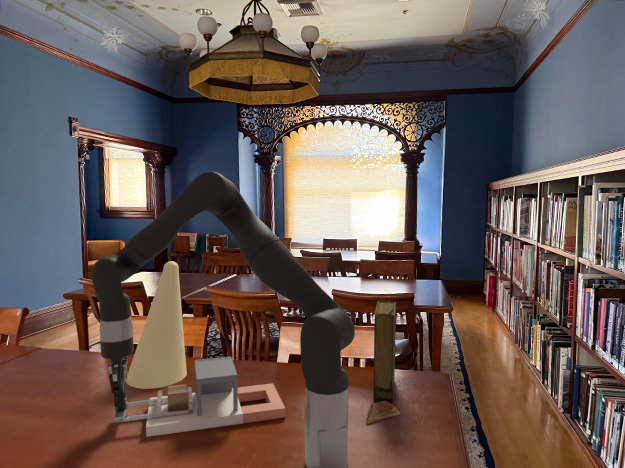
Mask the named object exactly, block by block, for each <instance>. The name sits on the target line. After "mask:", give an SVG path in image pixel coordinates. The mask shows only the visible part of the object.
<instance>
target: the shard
mask: <svg viewBox="0 0 625 468" xmlns="http://www.w3.org/2000/svg"><path fill="white" fill-rule="evenodd" d="M400 414H401V412H400V411H399V410H398V409H397V407H396V406H394V405H392V404H391V403H389V401H387V400H383V401H380V402H379V401H378V402H374V403H371V402H370V405H369V409H368V412H367V416H366V418H365V422H366V424H368V425H369V424H372V423H374V422H377V421H380V420H383V419H387V418H391V417H397V416H399V415H400Z"/></svg>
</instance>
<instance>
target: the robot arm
mask: <svg viewBox="0 0 625 468" xmlns="http://www.w3.org/2000/svg"><path fill="white" fill-rule="evenodd" d="M203 212H206V213H209V214H211V215H212V216H214V217H215V218H217V219H218V221H220V222H221V223H222V224H223V226H225V228H226V229H227V230H228V231H229V232H230V234H231V235H232V236H233V238H234V239H235V242H236V244H237V246H238V250H239V252H240V254H241V256H242V258H243V260H244V261H245V263H246V264H247V265H248V267H249V268H250V269H251V271H252V272H253V273H254V274H255V275H256V277H257V278H258V279H259V281H260V282H262V283H263V284H264V285H265V286H266V287H267V288H269V289H270V290H272V291H273V292H275V293H277V294H279V295H280V296H282V297H284V298H286V299H287V300H288V301H290V302H292V304H295V306H296V307H298V309H300V311H301V312H302V313H303V314H304V316H305V317H306V319H305V320H304V322H303V324H302V326H301V330H300V337H299V339H300V340H299V343H300V345H299V346H300V347H299V349H300V366H301V373H302V376H303V378H304V384H305V386H304V387H305V388H304V389H305V390H304V391H305V393H304V397H305V399H304V447H305V449H304V454H305V455H304V458H305V459H304V461H305V462H304V463H305V466H306V468H348V465H349V391H350V389H349V381H350V379H349V378H350V377H349V373H348V371H346V370H345V369H344V368H343V367H342V355H341V354H342V353H341V352H342V351H343V350H345V349H346V348H347V347H348V346H349V345H351V343H352V342H353V341H354V339H355V335H356V329H355V325H354V322H353V320H352V318H351V316H350V315H349V314H348V313H347V312H346V311H345V310H344V308H343V307H342V306H340V305H339V304H338V303H337V302H336V301H335V299H333V298H332V297H331V296H330V295H329V294H328V293H327V292H326V291H325V290H324V289H323V288H321V286H320V285H319V284H318V283H317V282H316V281H315V279H314V278H313V277H312V276H311V275H310V274H309V273H308V271H307V270H306V269H305V268H304V267H303V265H301V263H300V262H299V261H298V259H296V257H295V256H294V255H293V254H292V252H291V251H290V249H289V248H288V247H287V246H286V245H285V244H284V242H283V241H282V240H281V239H280V238H279V237H278V236H277V235H276V234H275V232H273V231H272V230H271V229H270V227H268V226H267V225H266V224H265V223H264V222H263V221H262V220H261V219H260V218H259V217H258V216H257V215H256V214H255V212H253V210H252V209H251V207H250V206H249V204H248V203H247V202H246V200H245V198H244V197H243V196H242V194H241V192H240V190H239V189H238V187H236V185H235V184H234V183H233V182H232V181H231V180H230V179H228V178H226V176H223V174H221V173H219V172H218V171H217V172H216V171H212V170H207V171H205V172H202V173H200V174H199V175H197V176H196V177H195V178H194V179H193V180H192V181H191V182H190V183H189V184H188V185H187V186H186V187H185V188H184V189H183V190H182V191H181V193H179V194H178V195H177V196H176V198H174V200H173V201H172V202H171V203H170V204H169V205H168V206H167V207H166V208H165V209H164V210H163V211H162V212H161V213H160V214H159V215H158V216H157V217H155V219H154V220H152V221H151V222H150V223H148V224H147V225H146V226H144V227H143V228H142V229H140V231H138V232H137V233H135V234H134V235H133V236H132V237H130V238H129V239H128V240H127V241H126V242H125V243H124V246H123V247H122V248H121V249H120V250H119V251H117V252H115V253H114V254H112V255H109V256H105V257H101V258H100V259H97V261H95V263H94V264H93V266H92V270H91V282H92V285H93V290H94V292H95V295H96V298H97V300H98V305H99V306H98V307H99V343H100V345H99V346H100V356H101V358H103V359H106V360H110V362H109V364H108V372H109V375H108V379H109V385H110V393H111V394H113V401H114V402H113V405H114V406H113V407H114V408H115V407H122V406H124V382H125V380H126V379H127V375H128V364H129V363H128V362H129V361H128V360H129V359H128V357H130V356H131V355H132V354H133V353H135V352H134V351H135V347H134V346H135V345H134V326H133V321H132V312H131V311H132V309H131V300H130V299H131V297H130V296H129V295H128V294H127V293H126V292H125V293H124V291H123V287H122V282H123V283H124V282H125V281H127V280H129V279H130V278H131V277H132V276H134V275H135V274H136V273H137V272H138V271H139V270H141V268H142V267H143V266H144V265H146V263H148V262H150V261H151V260H153V259H154V258H156V256H158V255H159V254H160V253H162V252H163V251H165V250H166V249H167V248H168V247H169V246H170V245H171V244H172V242H173V241H174V240H175V239H176V237H177V235H178V234H179V232H180V230H181V229H182V228H183V227H184V226H185V225H186V223H188V222H189V221H190V220H191V219H193V218H194V217H196V216H198V215H199V214H201V213H203ZM117 386H119V387H117ZM115 387H117V388H115Z"/></svg>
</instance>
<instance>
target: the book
mask: <svg viewBox="0 0 625 468" xmlns="http://www.w3.org/2000/svg"><path fill="white" fill-rule="evenodd" d="M396 306H397V302H396V301H394V300H393V301H392V300H378V301H377V303H376V307H375V310H374V320H373V321H374V323H373V325H374V328H373V331H374V332H373V334H374V335H373V339H374V340H373V393H372V394H373V396H372V397H373V400H386V401H387V400H388V401H391V402H394V393H395V373H396V371H395V370H396V369H395V367H396V362H395V361H396V318H397V316H396V315H397V314H396V313H397V311H396V309H397V307H396Z"/></svg>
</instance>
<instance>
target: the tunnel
mask: <svg viewBox="0 0 625 468" xmlns="http://www.w3.org/2000/svg"><path fill="white" fill-rule="evenodd" d="M232 357H233V356H224V357H223V356H221V357H215V358H214V357H211V358H204V359H203V358H202V359H201V358H200V359H194V379H195V380H194V381H195V383H194V384H195V393H196V395H197V415H198V416H202V407H201V395H205V394H213V393H221V392H230V391H232V388H233V410H234V411H238V372H237V370H236V366H235V364H234V361H233V358H232Z"/></svg>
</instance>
